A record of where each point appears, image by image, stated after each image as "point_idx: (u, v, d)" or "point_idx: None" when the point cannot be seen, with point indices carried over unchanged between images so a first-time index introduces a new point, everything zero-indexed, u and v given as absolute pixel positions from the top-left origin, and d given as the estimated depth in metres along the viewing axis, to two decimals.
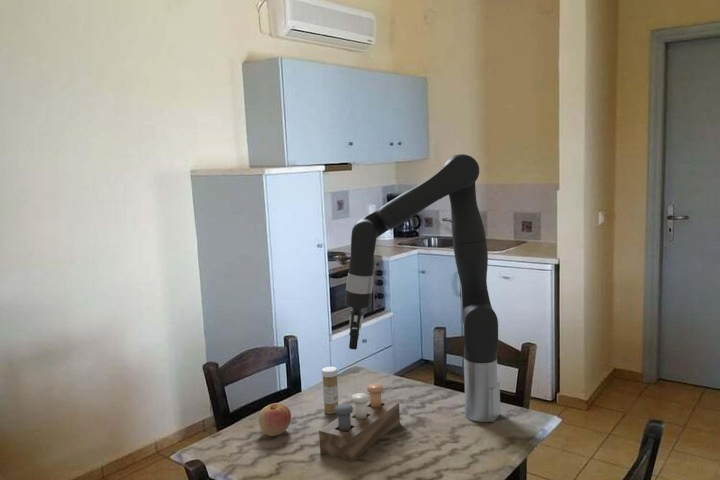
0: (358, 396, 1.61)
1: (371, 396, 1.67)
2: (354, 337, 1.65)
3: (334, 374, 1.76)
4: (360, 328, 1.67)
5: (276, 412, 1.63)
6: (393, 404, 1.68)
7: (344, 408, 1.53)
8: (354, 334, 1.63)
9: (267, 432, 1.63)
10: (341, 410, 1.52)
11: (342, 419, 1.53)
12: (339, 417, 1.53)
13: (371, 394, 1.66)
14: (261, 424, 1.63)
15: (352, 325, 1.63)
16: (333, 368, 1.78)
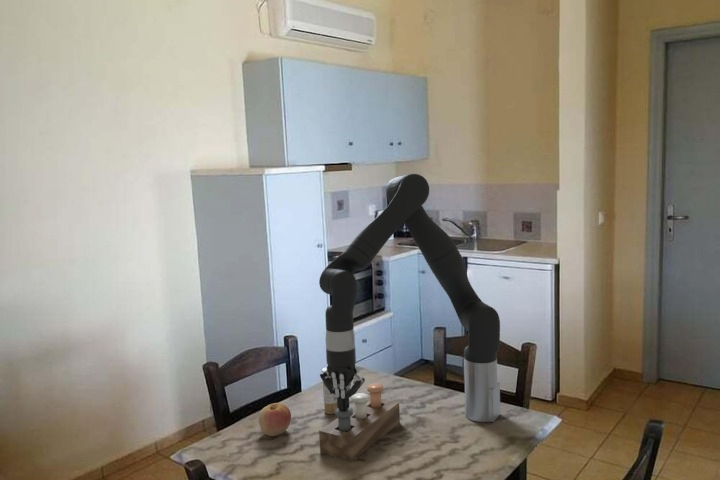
0: (358, 396, 1.61)
1: (371, 396, 1.67)
2: (348, 397, 1.53)
3: None
4: None
5: (276, 412, 1.63)
6: (393, 404, 1.68)
7: None
8: (353, 393, 1.52)
9: (267, 432, 1.63)
10: (341, 413, 1.52)
11: (342, 422, 1.53)
12: (339, 420, 1.53)
13: (371, 394, 1.66)
14: (261, 424, 1.63)
15: (355, 389, 1.50)
16: None
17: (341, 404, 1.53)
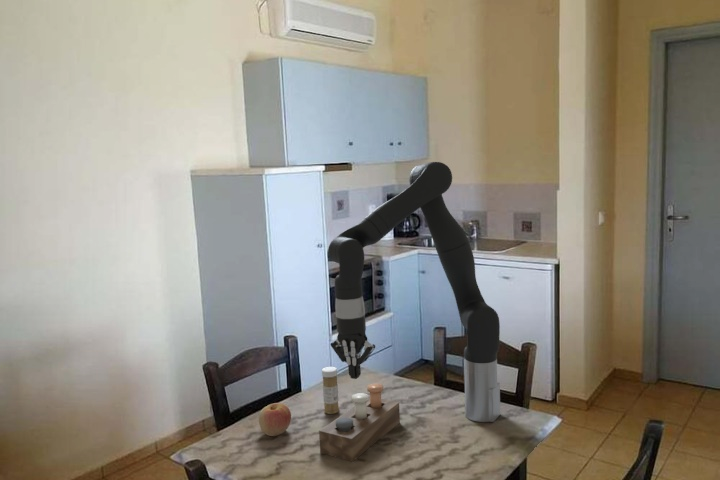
0: (358, 396, 1.61)
1: (371, 396, 1.67)
2: (359, 364, 1.55)
3: (334, 374, 1.76)
4: None
5: (276, 412, 1.63)
6: (393, 404, 1.68)
7: (345, 422, 1.54)
8: (364, 360, 1.54)
9: (267, 432, 1.63)
10: (342, 424, 1.53)
11: None
12: None
13: (371, 394, 1.66)
14: (261, 424, 1.63)
15: (367, 356, 1.53)
16: (333, 368, 1.78)
17: (353, 371, 1.55)
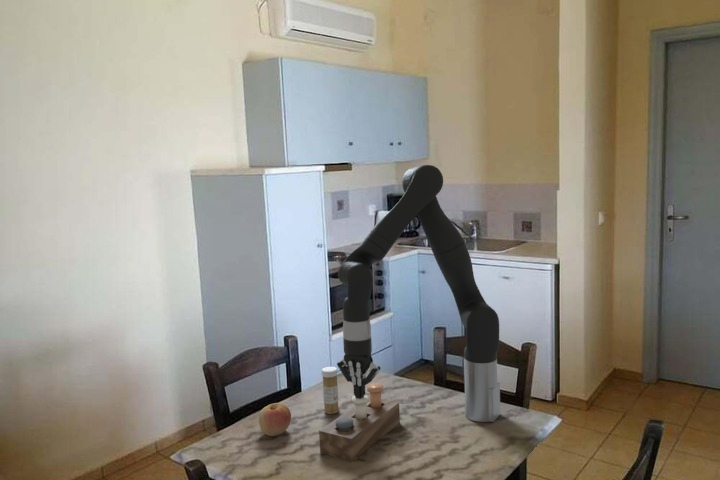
0: None
1: (371, 396, 1.67)
2: (364, 385, 1.60)
3: (334, 374, 1.76)
4: None
5: (276, 412, 1.63)
6: (393, 404, 1.68)
7: (345, 422, 1.54)
8: (369, 381, 1.58)
9: (267, 432, 1.63)
10: (342, 424, 1.53)
11: None
12: None
13: (371, 394, 1.66)
14: (261, 424, 1.63)
15: (372, 377, 1.57)
16: (333, 368, 1.78)
17: (357, 391, 1.59)
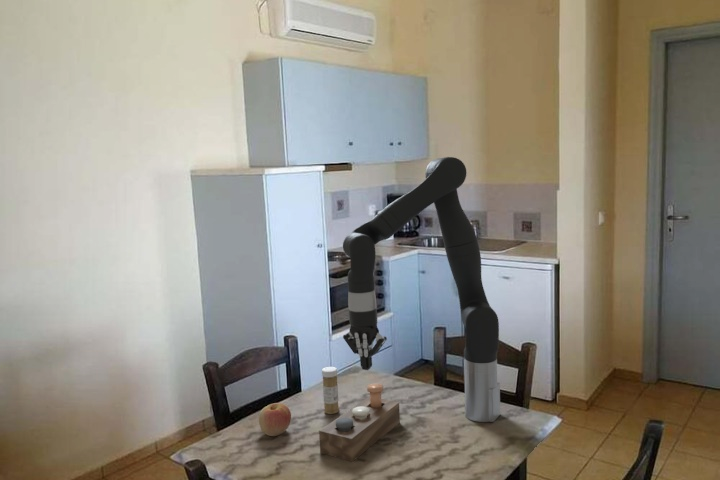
0: (359, 409, 1.61)
1: (371, 396, 1.67)
2: (370, 356, 1.61)
3: (334, 374, 1.76)
4: None
5: (276, 412, 1.63)
6: (393, 404, 1.68)
7: (345, 422, 1.54)
8: (375, 352, 1.60)
9: (267, 432, 1.63)
10: (342, 424, 1.53)
11: None
12: None
13: (371, 394, 1.66)
14: (261, 424, 1.63)
15: (378, 348, 1.58)
16: (333, 368, 1.78)
17: (364, 363, 1.60)
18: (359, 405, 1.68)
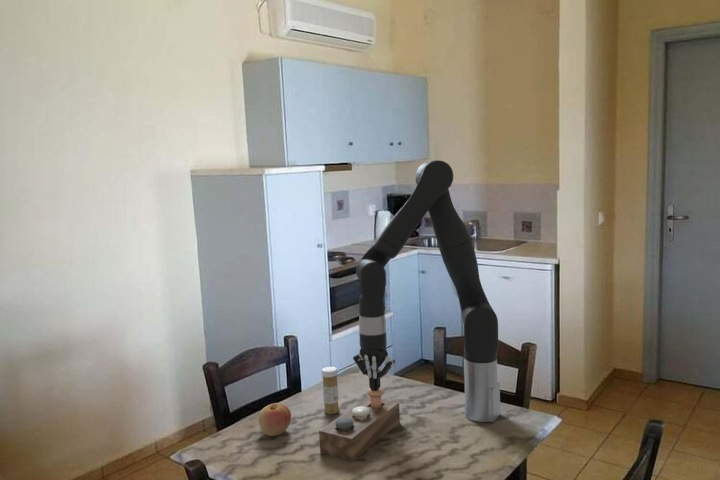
0: (359, 409, 1.61)
1: (371, 400, 1.67)
2: (379, 378, 1.66)
3: (334, 374, 1.76)
4: None
5: (276, 412, 1.63)
6: (393, 404, 1.68)
7: (345, 422, 1.54)
8: (384, 374, 1.65)
9: (267, 432, 1.63)
10: (342, 424, 1.53)
11: None
12: None
13: (371, 398, 1.67)
14: (261, 424, 1.63)
15: (387, 370, 1.64)
16: (333, 368, 1.78)
17: (373, 384, 1.66)
18: (359, 405, 1.68)
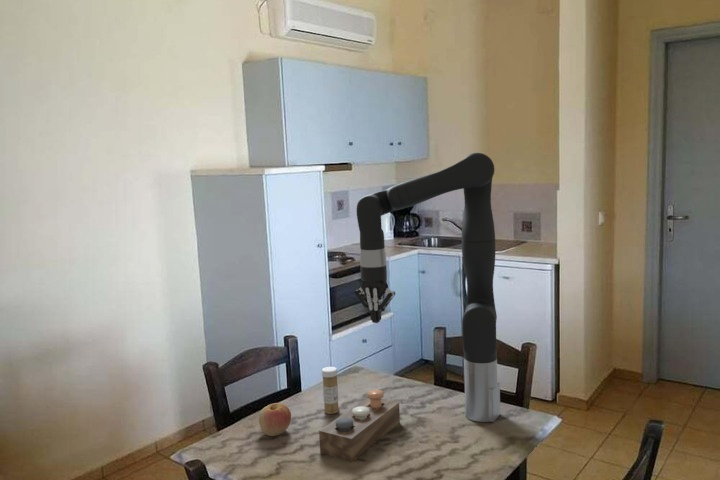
0: (359, 409, 1.61)
1: (371, 402, 1.67)
2: (380, 310, 1.73)
3: (334, 374, 1.76)
4: None
5: (276, 412, 1.63)
6: (393, 404, 1.68)
7: (345, 422, 1.54)
8: (385, 306, 1.72)
9: (267, 432, 1.63)
10: (342, 424, 1.53)
11: None
12: None
13: (371, 400, 1.67)
14: (261, 424, 1.63)
15: (387, 301, 1.70)
16: (333, 368, 1.78)
17: (374, 316, 1.73)
18: (359, 405, 1.68)
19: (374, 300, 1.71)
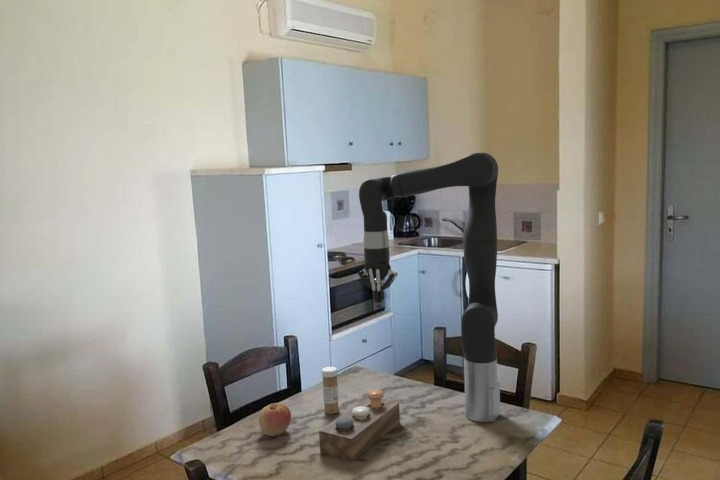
0: (359, 409, 1.61)
1: (371, 402, 1.67)
2: (382, 290, 1.78)
3: (334, 374, 1.76)
4: None
5: (276, 412, 1.63)
6: (393, 404, 1.68)
7: (345, 422, 1.54)
8: (387, 286, 1.77)
9: (267, 432, 1.63)
10: (342, 424, 1.53)
11: None
12: None
13: (371, 400, 1.67)
14: (261, 424, 1.63)
15: (390, 282, 1.76)
16: (333, 368, 1.78)
17: (377, 296, 1.78)
18: (359, 405, 1.68)
19: (377, 281, 1.77)
